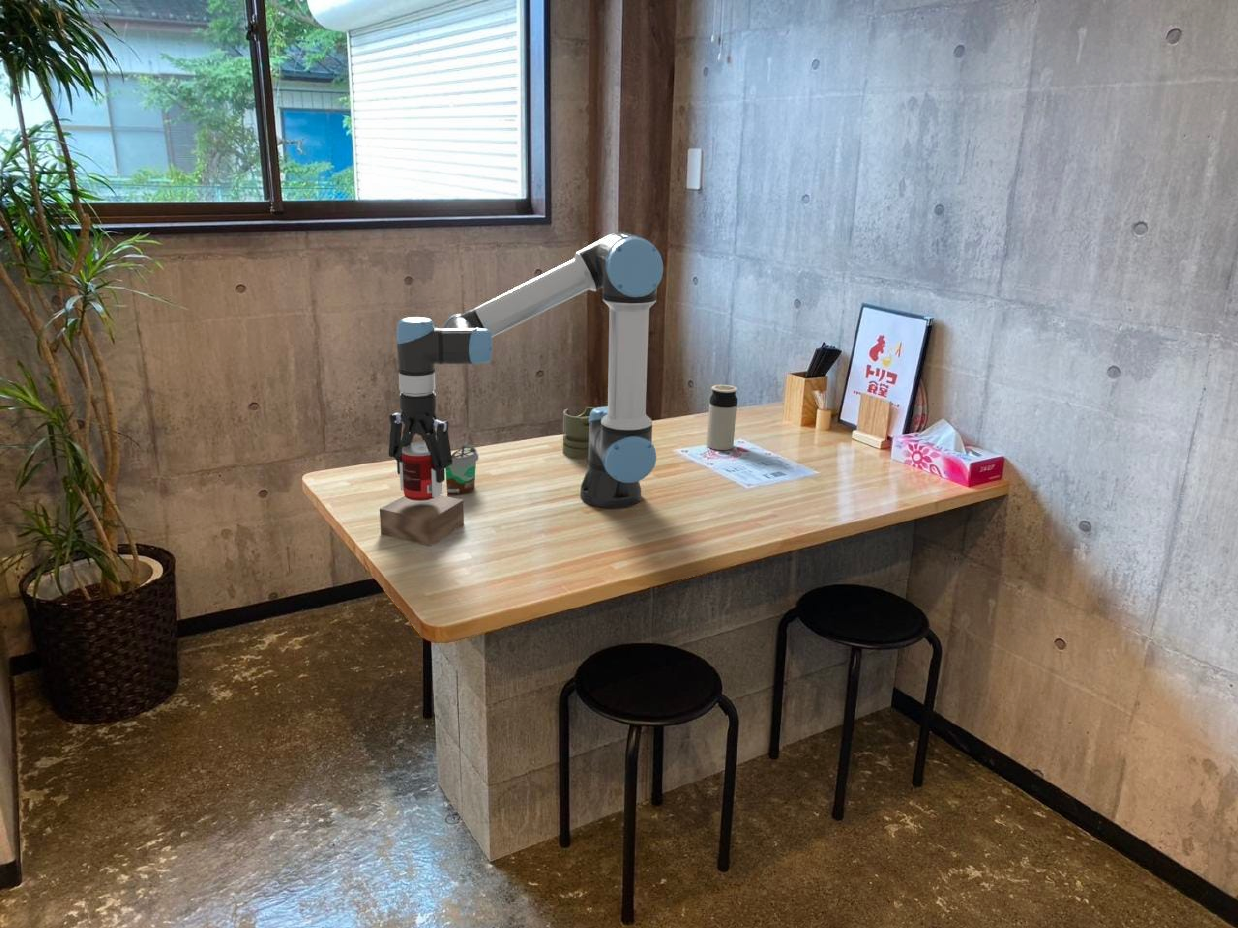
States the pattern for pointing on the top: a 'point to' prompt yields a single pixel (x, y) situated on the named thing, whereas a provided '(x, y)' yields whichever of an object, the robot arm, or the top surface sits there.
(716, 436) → the travel mug
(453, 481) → the food container
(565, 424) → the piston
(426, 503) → the walnut stand
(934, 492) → the top surface
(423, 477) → the canned food
